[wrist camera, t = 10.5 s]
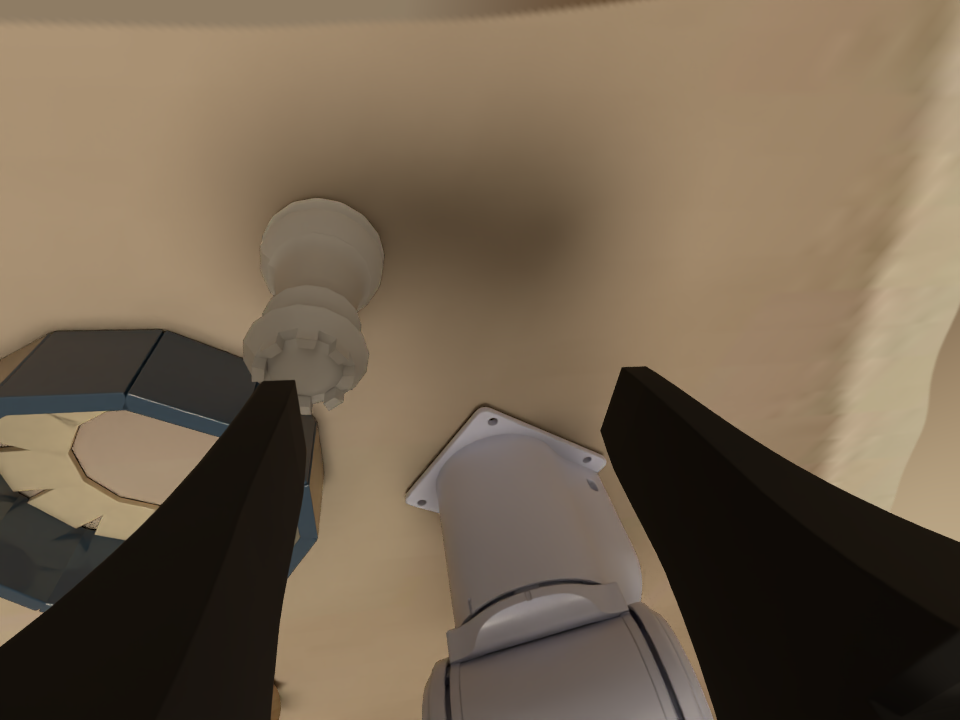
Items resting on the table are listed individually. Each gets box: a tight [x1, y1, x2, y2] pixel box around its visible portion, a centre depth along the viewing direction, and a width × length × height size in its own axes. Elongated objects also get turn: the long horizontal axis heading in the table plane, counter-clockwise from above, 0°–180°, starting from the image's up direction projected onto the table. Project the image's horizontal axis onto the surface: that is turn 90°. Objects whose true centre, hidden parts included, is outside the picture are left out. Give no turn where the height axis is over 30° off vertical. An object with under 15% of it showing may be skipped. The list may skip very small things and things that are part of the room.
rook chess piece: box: [243, 198, 385, 415], centre depth 16 cm, size 4×4×8 cm
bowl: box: [0, 330, 324, 612], centre depth 22 cm, size 15×15×4 cm
